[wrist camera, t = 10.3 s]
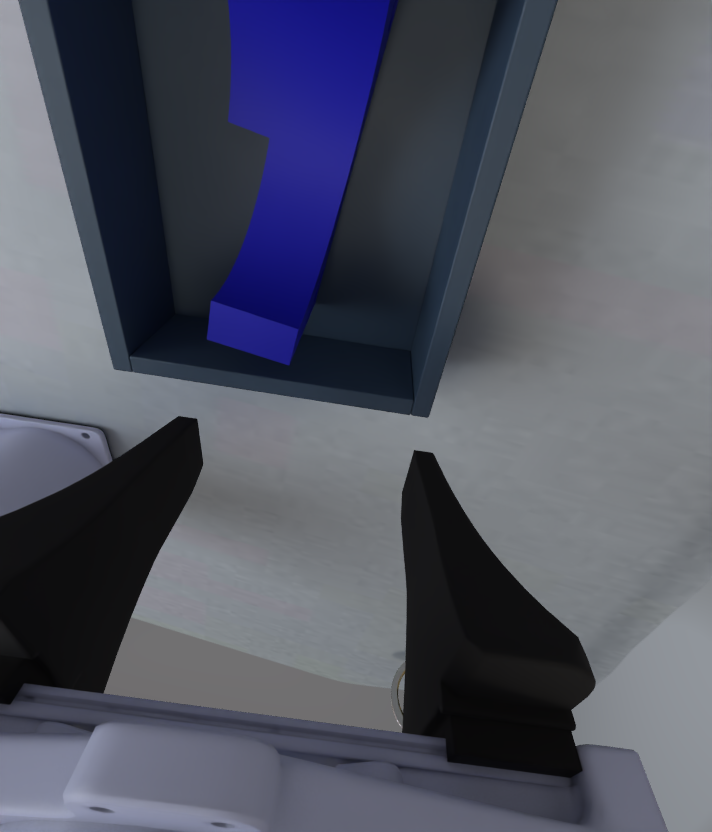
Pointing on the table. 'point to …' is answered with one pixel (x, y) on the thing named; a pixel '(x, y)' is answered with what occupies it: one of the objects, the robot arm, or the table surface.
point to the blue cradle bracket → (295, 155)
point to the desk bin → (241, 177)
